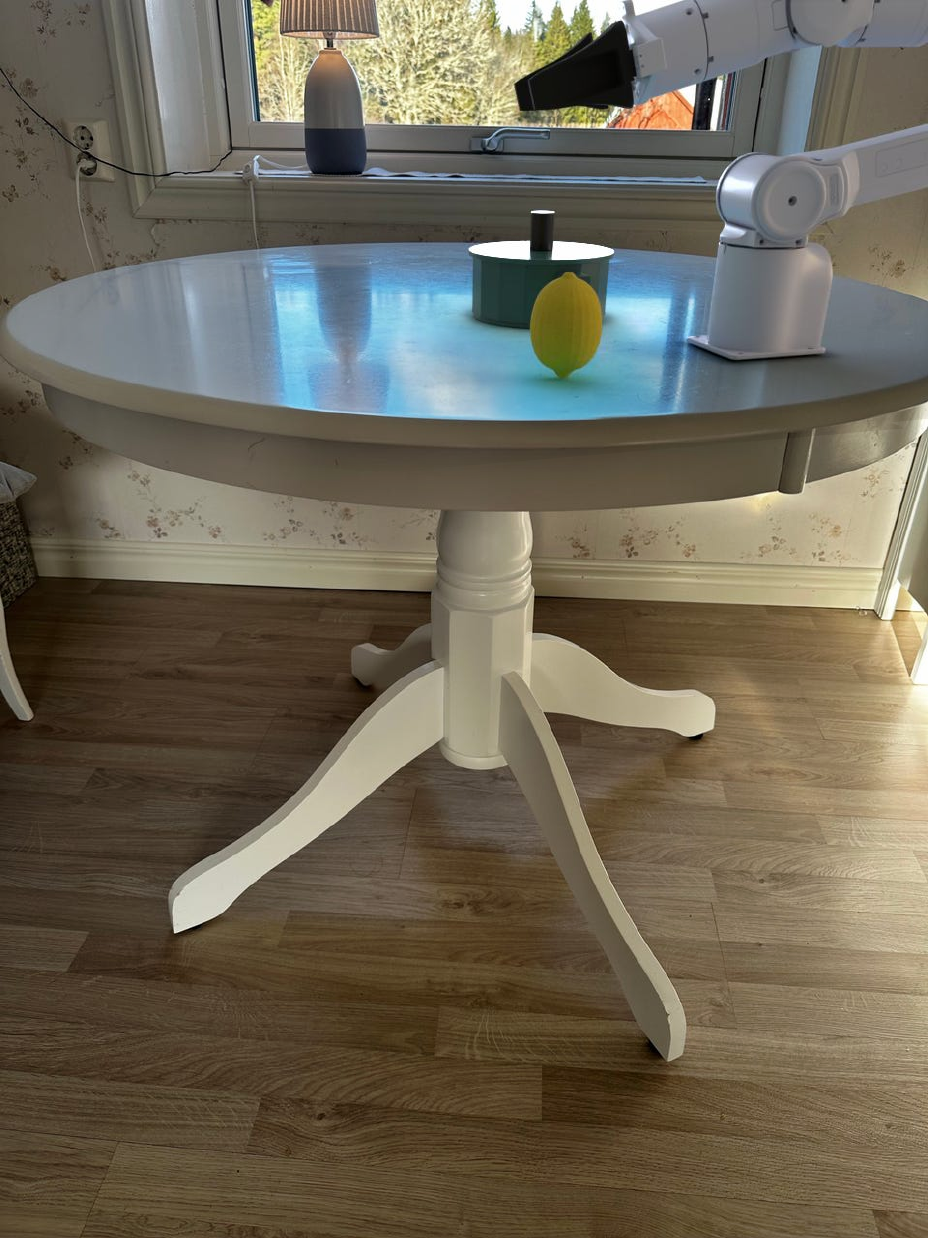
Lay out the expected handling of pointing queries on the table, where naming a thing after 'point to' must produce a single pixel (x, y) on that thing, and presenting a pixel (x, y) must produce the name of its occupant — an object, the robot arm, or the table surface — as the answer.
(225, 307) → the table surface
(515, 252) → the lid
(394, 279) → the table surface
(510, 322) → the pot
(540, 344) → the lemon
